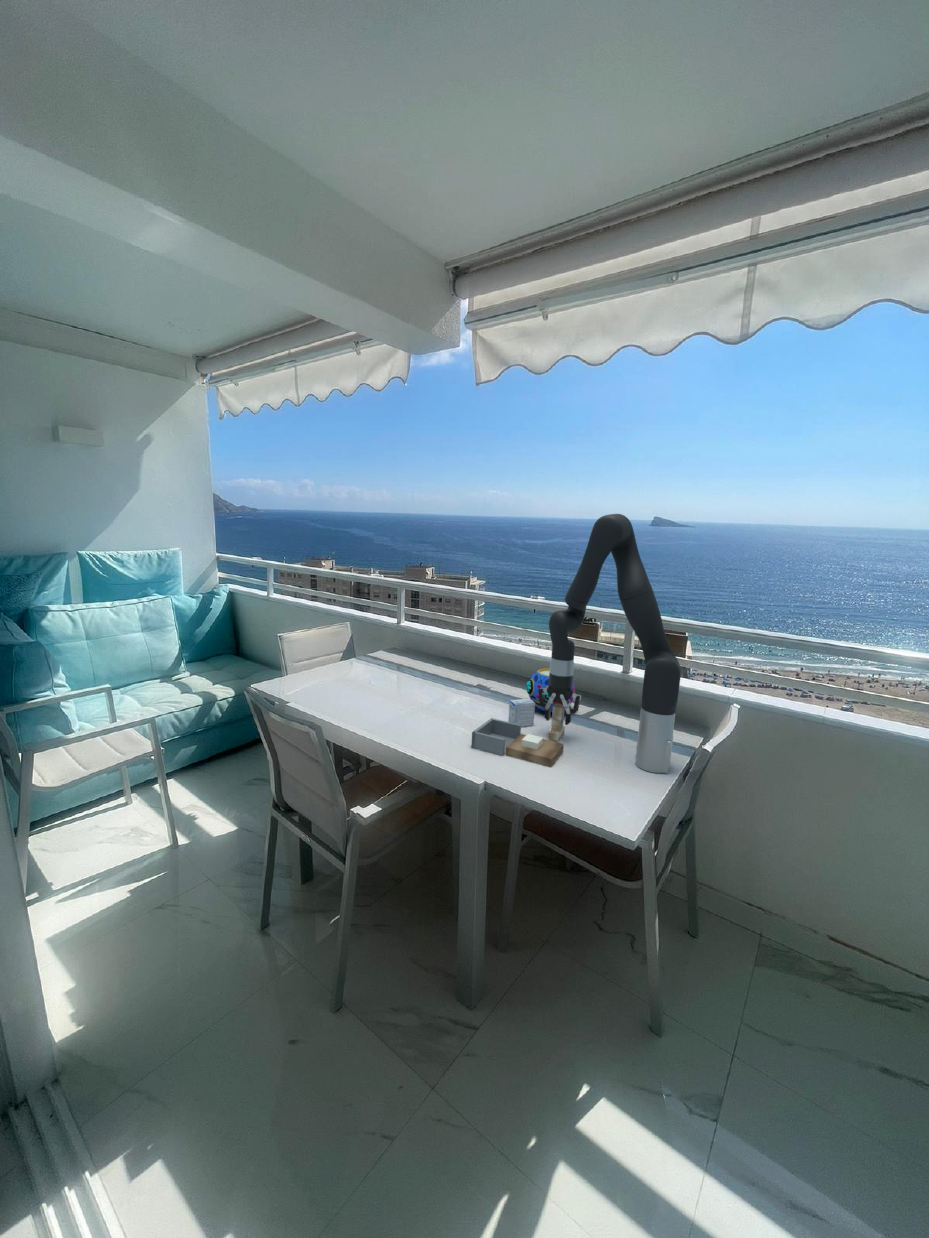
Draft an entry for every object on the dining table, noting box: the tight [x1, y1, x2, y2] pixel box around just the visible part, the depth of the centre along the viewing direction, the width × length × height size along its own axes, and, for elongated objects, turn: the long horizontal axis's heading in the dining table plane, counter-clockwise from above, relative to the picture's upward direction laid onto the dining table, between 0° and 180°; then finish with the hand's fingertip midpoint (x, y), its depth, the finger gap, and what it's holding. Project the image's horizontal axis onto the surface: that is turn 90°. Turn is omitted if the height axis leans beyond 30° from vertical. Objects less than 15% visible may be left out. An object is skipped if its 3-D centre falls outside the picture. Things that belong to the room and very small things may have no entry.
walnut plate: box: [505, 733, 565, 768], centre depth 145 cm, size 14×12×2 cm
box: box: [471, 717, 522, 757], centre depth 151 cm, size 10×14×5 cm
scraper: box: [547, 704, 566, 743], centre depth 157 cm, size 3×8×11 cm, turn 152°
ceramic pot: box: [525, 667, 576, 712], centre depth 182 cm, size 18×18×15 cm
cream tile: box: [522, 733, 544, 750], centre depth 145 cm, size 5×5×2 cm
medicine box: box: [507, 698, 536, 728], centre depth 167 cm, size 8×4×9 cm, turn 111°
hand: (557, 721), depth 157 cm, fingers open, 5 cm apart
